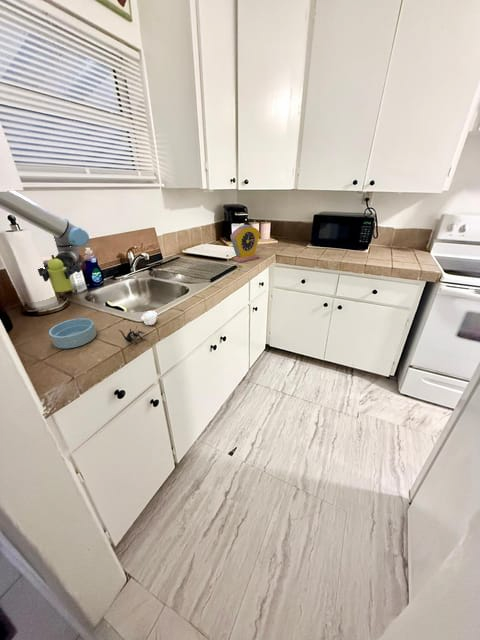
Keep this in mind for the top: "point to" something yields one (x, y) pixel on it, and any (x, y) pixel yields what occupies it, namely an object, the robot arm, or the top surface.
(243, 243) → the yellow mantel clock
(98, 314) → the top surface
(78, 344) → the bowl
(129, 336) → the creature
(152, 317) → the dumpling
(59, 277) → the yellow-green bottle
